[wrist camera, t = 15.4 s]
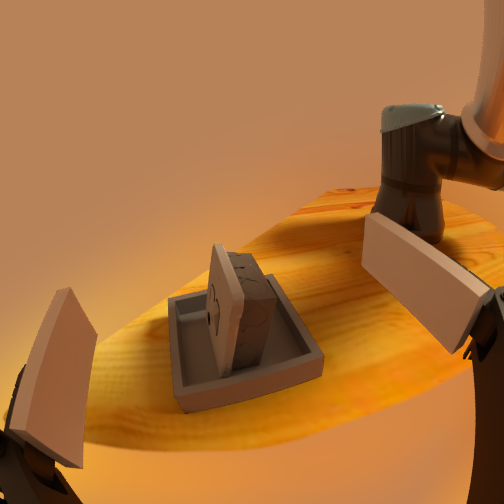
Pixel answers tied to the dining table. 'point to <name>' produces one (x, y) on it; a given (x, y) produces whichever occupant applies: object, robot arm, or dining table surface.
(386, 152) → the robot arm
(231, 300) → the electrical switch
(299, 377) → the box
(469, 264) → the dining table surface
